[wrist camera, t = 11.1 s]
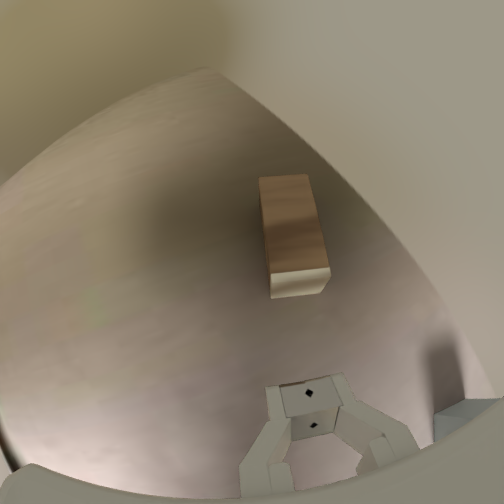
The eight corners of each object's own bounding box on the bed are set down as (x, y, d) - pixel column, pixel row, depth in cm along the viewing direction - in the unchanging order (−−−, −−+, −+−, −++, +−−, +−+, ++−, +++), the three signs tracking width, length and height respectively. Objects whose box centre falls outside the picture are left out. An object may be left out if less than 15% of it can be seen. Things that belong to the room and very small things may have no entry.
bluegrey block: (465, 435, 18) (508, 441, 11) (433, 452, 18) (476, 465, 11) (465, 398, 20) (511, 397, 13) (433, 414, 20) (479, 419, 13)
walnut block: (331, 276, 22) (307, 173, 27) (271, 283, 22) (258, 177, 27) (320, 292, 27) (302, 201, 31) (270, 298, 27) (259, 205, 31)
